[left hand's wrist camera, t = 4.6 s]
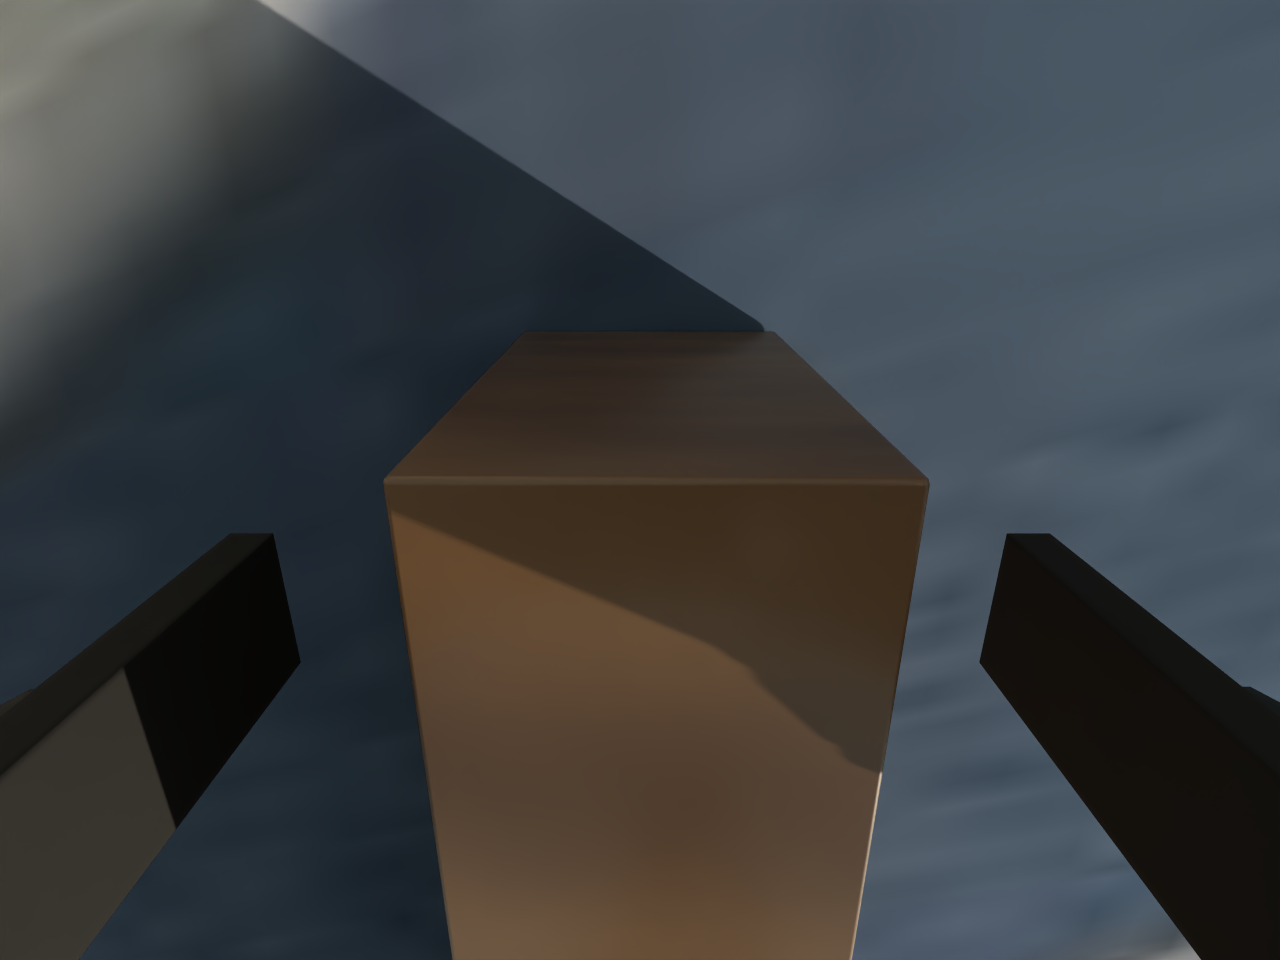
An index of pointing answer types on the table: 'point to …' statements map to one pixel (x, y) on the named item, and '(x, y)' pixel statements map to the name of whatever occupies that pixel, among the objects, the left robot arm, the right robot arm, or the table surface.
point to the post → (654, 647)
